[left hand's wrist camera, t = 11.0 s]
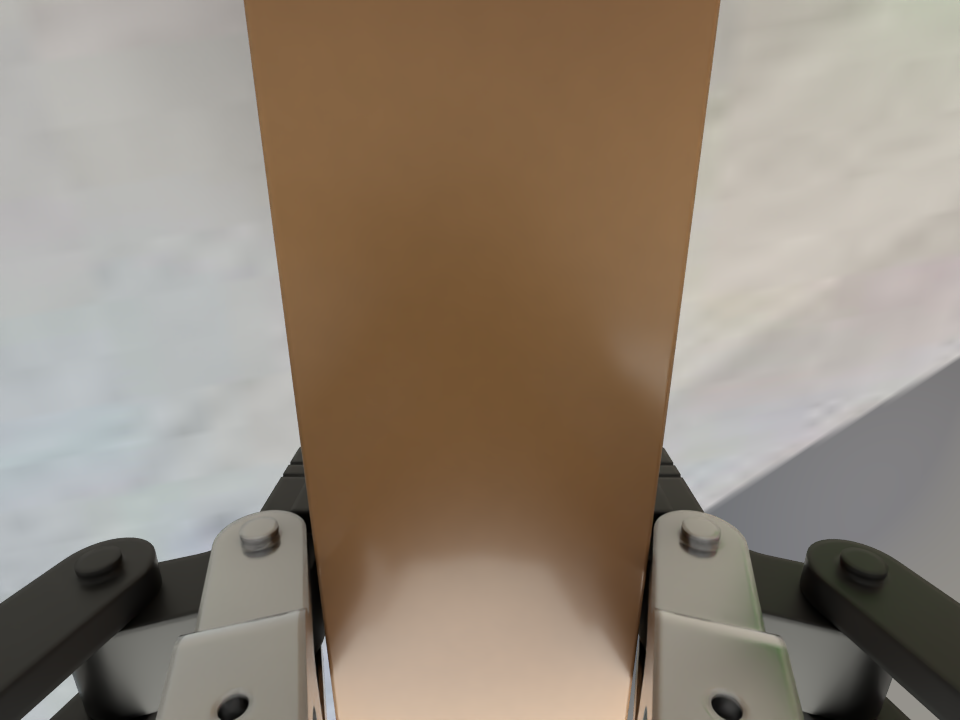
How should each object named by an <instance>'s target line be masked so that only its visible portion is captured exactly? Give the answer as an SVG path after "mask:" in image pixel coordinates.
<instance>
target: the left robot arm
mask: <svg viewBox="0 0 960 720" xmlns="http://www.w3.org/2000/svg"><path fill="white" fill-rule="evenodd" d="M680 475H681V474H680V473H679V471H678V470H677V468H676V466H675V465H673V462H672V460H671V458H670V457H669V455H668V454H667V452H666V450H665V449H664V448H663V447H662V455H661V462H660V470H659V478H658V486H657V493H656V501H655V509H654V516H653V524H652V532H651V540H650V547H649V555H648V563H647V570H646V578H645V586H644V593H643V601H642V609H641V617H640V624H639V632H638V633H639V645H638V652H637V663H636V680H635V697H634V714H633V720H910V719H909V718H908V717H907V716H906V715H905V714H904V713H903V712H902V711H901V710H900V709H899V708H897V707H896V706H895V705H894V704H893V703H892V702H891V701H890V700H889V699H888V698H887V697H886V694H887V691H888V689H889V686H890V683H891V680H892V678H894V679H895V680H896V681H897V682H898V683H899V684H900V685H901V686H903V687H904V688H905V689H906V690H907V691H908V692H909V693H910V694H911V695H913V696H914V697H915V698H916V699H917V700H918V701H919V702H920V703H922V704H923V705H924V706H925V707H926V708H927V709H928V710H929V711H931V712H932V713H933V714H934V715H935V716H936V717H937V718H938V719H939V720H960V603H958V602H957V601H955V600H954V599H952V598H951V597H949V596H948V595H947V594H945V593H944V592H942V591H941V590H939V589H938V588H936V587H935V586H933V585H932V584H931V583H929V582H928V581H926V580H925V579H923V578H922V577H920V576H919V575H918V574H916V573H915V572H913V571H912V570H910V569H909V568H907V567H906V566H904V565H903V564H901V563H900V562H899V561H897V560H895V559H894V558H892V557H891V556H889V555H887V554H885V553H883V552H881V551H879V550H877V549H875V548H872V547H869V546H867V545H864V544H860V543H857V542H853V541H847V540H840V539H827V540H821V541H818V542H815V543H814V544H812V545H811V546H810V547H809V548H808V551H807V554H806V558H805V562H804V563H802V562H797V561H792V560H788V559H783V558H778V557H773V556H769V555H764V554H761V553H757V552H754V551H751V550H749V549H748V545H747V542H746V540H745V538H744V536H743V535H742V534H741V533H740V532H739V531H738V530H737V529H736V528H735V527H734V526H732V525H731V524H729V523H728V522H726V521H724V520H722V519H720V518H718V517H716V516H713V515H710V514H707V513H704V511H703V510H702V508H701V507H700V505H699V503H698V502H697V500H696V499H695V497H694V495H693V494H692V492H691V490H690V489H689V487H688V486H687V484H686V482H685V481H684V479H683V478H681V476H680ZM324 636H325V629H324V622H323V614H322V606H321V598H320V590H319V583H318V575H317V567H316V559H315V552H314V544H313V536H312V528H311V520H310V513H309V505H308V497H307V489H306V482H305V474H304V466H303V458H302V450H301V447H300V448H299V449H298V451H297V452H296V454H295V456H294V457H293V459H292V460H291V462H290V465H288V467H287V469H286V470H285V472H284V473H283V477H281V478H280V480H279V482H278V483H277V485H276V486H275V488H274V490H273V491H272V493H271V495H270V496H269V498H268V499H267V501H266V503H265V504H264V506H263V508H262V509H261V511H260V512H257V513H253V514H250V515H247V516H244V517H242V518H240V519H238V520H236V521H234V522H232V523H231V524H229V525H228V526H226V527H225V528H224V529H223V530H222V531H221V532H220V533H219V534H218V535H217V537H216V538H215V540H214V542H213V545H212V550H211V551H208V552H205V553H201V554H197V555H192V556H187V557H182V558H178V559H173V560H168V561H163V562H159V563H158V560H157V556H156V552H155V549H154V547H153V545H152V544H151V543H149V542H148V541H146V540H143V539H139V538H117V539H112V540H107V541H103V542H100V543H97V544H94V545H91V546H89V547H86V548H84V549H82V550H80V551H78V552H76V553H74V554H72V555H71V556H69V557H67V558H66V559H64V560H63V561H61V562H60V563H58V564H57V565H56V566H54V567H53V568H51V569H50V570H48V571H47V572H45V573H44V574H43V575H41V576H40V577H38V578H37V579H35V580H34V581H32V582H31V583H29V584H28V585H27V586H25V587H24V588H22V589H21V590H19V591H18V592H16V593H15V594H13V595H12V596H11V597H9V598H8V599H6V600H5V601H3V602H2V603H0V720H21V719H22V718H23V717H24V716H25V715H26V714H27V713H28V712H30V711H31V710H32V709H33V708H34V707H35V706H36V705H37V704H39V703H40V702H41V701H42V700H43V699H44V698H45V697H46V696H47V695H49V694H50V693H51V692H52V691H53V690H54V689H55V688H56V687H57V686H59V685H60V684H61V683H62V682H63V681H64V680H65V679H66V678H68V677H69V676H70V675H71V674H73V677H74V680H75V683H76V686H77V688H78V691H79V693H77V694H76V695H75V696H74V697H73V698H72V699H71V700H70V701H69V702H68V703H67V704H66V705H65V706H64V707H63V708H61V709H60V710H59V711H58V712H57V713H56V714H55V715H54V716H53V717H52V718H51V719H50V720H327V712H326V695H325V678H324V661H323V651H322V642H323V639H324Z"/></svg>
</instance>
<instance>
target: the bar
mask: <svg viewBox="0 0 960 720" xmlns="http://www.w3.org/2000/svg"><path fill="white" fill-rule="evenodd" d="M244 7H245V15H246V22H247V30H248V38H249V46H250V54H251V61H252V69H253V77H254V85H255V92H256V100H257V108H258V116H259V124H260V131H261V139H262V147H263V155H264V163H265V170H266V178H267V186H268V194H269V201H270V209H271V217H272V225H273V233H274V240H275V248H276V256H277V264H278V271H279V279H280V287H281V295H282V303H283V310H284V318H285V326H286V334H287V341H288V349H289V357H290V365H291V373H292V380H293V388H294V396H295V404H296V412H297V419H298V427H299V435H300V443H301V450H302V458H303V466H304V474H305V482H306V489H307V497H308V505H309V513H310V520H311V528H312V536H313V544H314V552H315V559H316V567H317V575H318V583H319V590H320V598H321V606H322V614H323V622H324V629H325V637H326V645H327V653H328V661H329V668H330V676H331V684H332V692H333V699H334V707H335V715H336V720H627V717H628V709H629V701H630V694H631V686H632V678H633V670H634V663H635V655H636V647H637V640H638V632H639V624H640V617H641V609H642V601H643V593H644V586H645V578H646V570H647V563H648V555H649V547H650V540H651V532H652V524H653V516H654V509H655V501H656V493H657V486H658V478H659V470H660V462H661V455H662V447H663V439H664V432H665V424H666V416H667V409H668V401H669V393H670V385H671V378H672V370H673V362H674V355H675V347H676V339H677V332H678V324H679V316H680V308H681V301H682V293H683V285H684V278H685V270H686V262H687V254H688V247H689V239H690V231H691V224H692V216H693V208H694V201H695V193H696V185H697V177H698V170H699V162H700V154H701V147H702V139H703V131H704V124H705V116H706V108H707V100H708V93H709V85H710V77H711V70H712V62H713V54H714V46H715V39H716V31H717V23H718V16H719V8H720V0H244Z"/></svg>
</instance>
